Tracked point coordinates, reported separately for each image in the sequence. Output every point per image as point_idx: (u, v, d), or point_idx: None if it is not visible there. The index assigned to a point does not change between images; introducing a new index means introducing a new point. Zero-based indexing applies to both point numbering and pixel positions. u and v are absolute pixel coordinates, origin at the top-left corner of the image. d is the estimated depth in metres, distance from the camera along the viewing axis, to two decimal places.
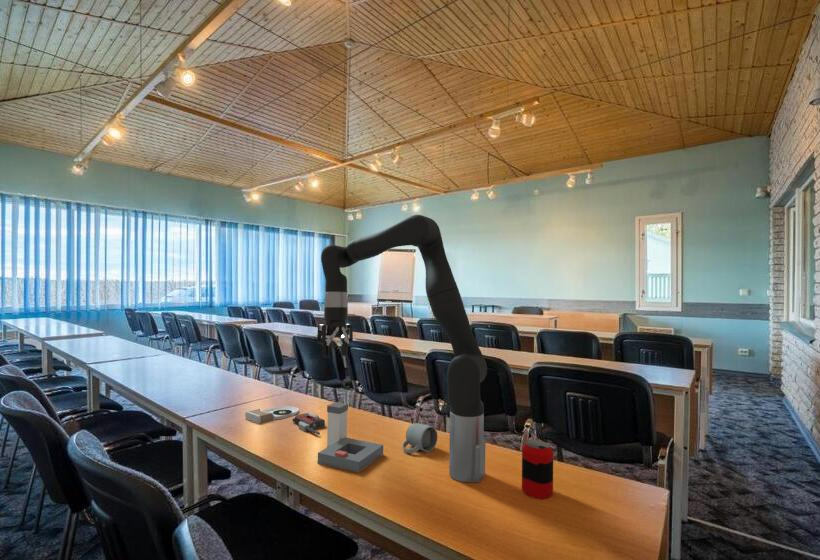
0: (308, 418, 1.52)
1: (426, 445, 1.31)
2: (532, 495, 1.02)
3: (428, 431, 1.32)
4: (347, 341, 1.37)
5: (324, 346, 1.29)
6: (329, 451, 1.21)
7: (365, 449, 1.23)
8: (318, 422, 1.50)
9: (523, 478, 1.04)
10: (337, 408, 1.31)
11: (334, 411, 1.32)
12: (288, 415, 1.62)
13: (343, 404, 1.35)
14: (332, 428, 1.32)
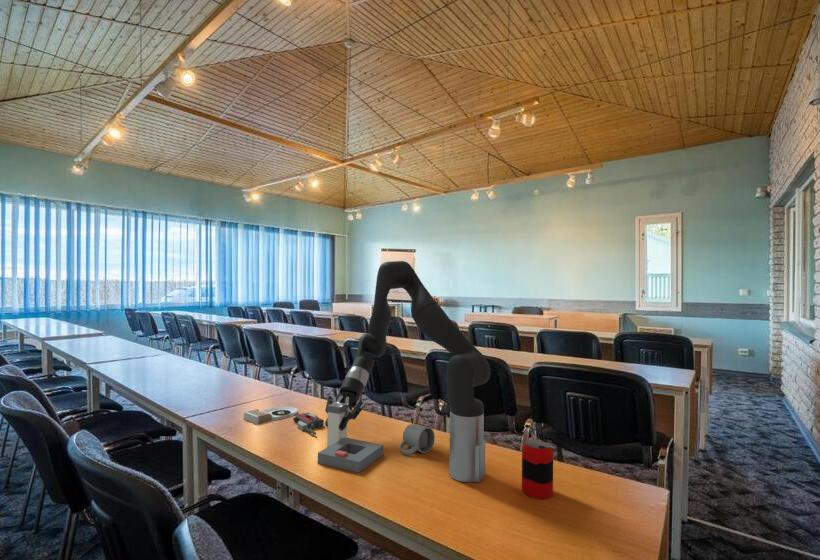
0: (307, 418, 1.52)
1: (423, 446, 1.30)
2: (532, 495, 1.02)
3: (425, 432, 1.31)
4: (345, 414, 1.33)
5: None
6: (329, 451, 1.21)
7: (365, 449, 1.23)
8: (316, 422, 1.50)
9: (523, 478, 1.04)
10: (337, 408, 1.31)
11: (334, 411, 1.32)
12: (286, 416, 1.61)
13: (343, 404, 1.35)
14: (332, 428, 1.32)
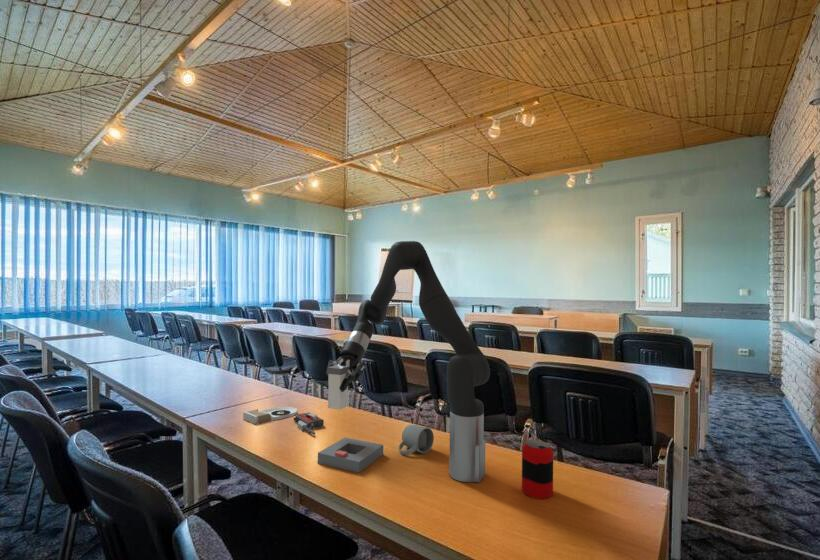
0: (307, 417, 1.53)
1: (422, 446, 1.30)
2: (532, 495, 1.02)
3: (424, 432, 1.30)
4: (346, 375, 1.34)
5: None
6: (329, 451, 1.21)
7: (365, 449, 1.23)
8: (316, 422, 1.50)
9: (523, 478, 1.04)
10: (338, 369, 1.31)
11: (335, 372, 1.32)
12: (286, 416, 1.61)
13: (344, 366, 1.35)
14: (333, 390, 1.32)
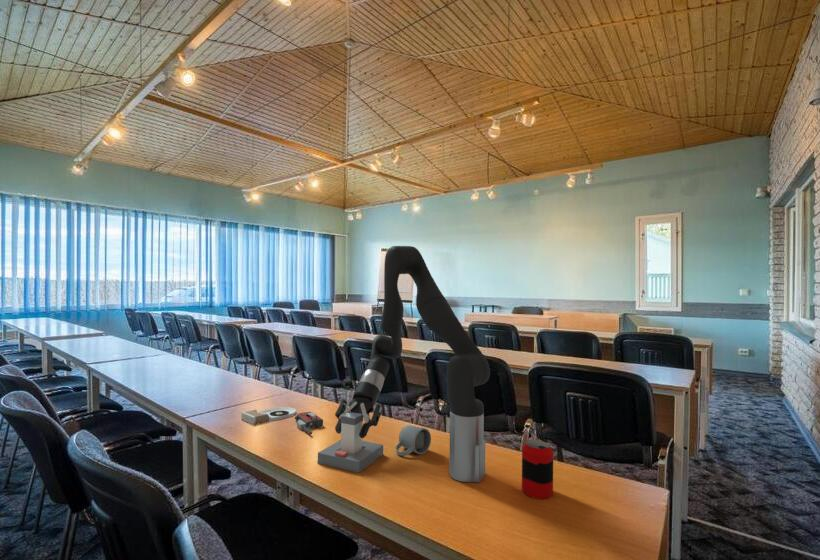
0: (307, 417, 1.53)
1: (419, 447, 1.29)
2: (532, 495, 1.02)
3: (421, 433, 1.30)
4: (365, 420, 1.23)
5: None
6: (329, 451, 1.21)
7: (365, 449, 1.23)
8: (315, 421, 1.50)
9: (523, 478, 1.04)
10: (352, 419, 1.21)
11: (348, 422, 1.21)
12: (284, 416, 1.61)
13: (358, 414, 1.24)
14: (346, 441, 1.21)
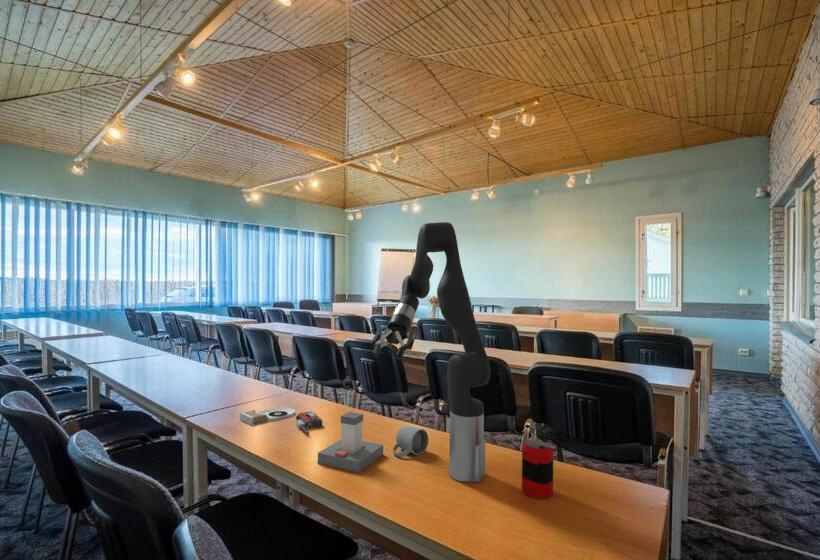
0: (307, 417, 1.53)
1: (417, 448, 1.28)
2: (532, 495, 1.02)
3: (419, 434, 1.29)
4: (401, 344, 1.35)
5: None
6: (329, 451, 1.21)
7: (365, 449, 1.23)
8: (314, 422, 1.50)
9: (523, 478, 1.04)
10: (352, 419, 1.21)
11: (348, 422, 1.21)
12: (283, 417, 1.60)
13: (358, 414, 1.24)
14: (346, 441, 1.21)
